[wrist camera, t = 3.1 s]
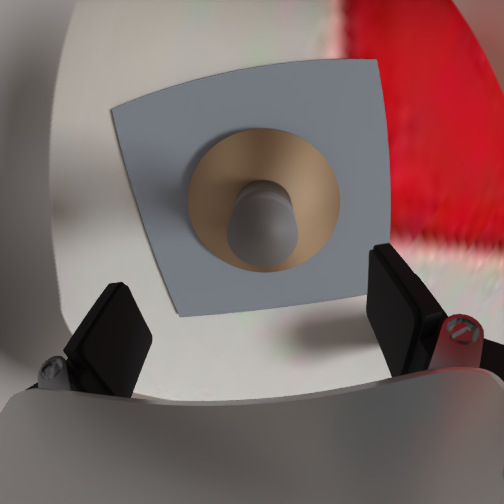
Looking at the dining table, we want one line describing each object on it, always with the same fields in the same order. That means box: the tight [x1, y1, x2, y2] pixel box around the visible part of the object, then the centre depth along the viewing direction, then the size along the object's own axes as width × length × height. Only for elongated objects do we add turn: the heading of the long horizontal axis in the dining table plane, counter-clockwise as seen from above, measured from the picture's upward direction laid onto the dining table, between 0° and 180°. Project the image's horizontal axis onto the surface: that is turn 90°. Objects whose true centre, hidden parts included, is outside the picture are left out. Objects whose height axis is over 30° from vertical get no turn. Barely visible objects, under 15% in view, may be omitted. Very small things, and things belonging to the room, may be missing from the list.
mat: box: [112, 59, 391, 317], centre depth 19 cm, size 18×18×1 cm
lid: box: [188, 128, 340, 273], centre depth 16 cm, size 10×10×5 cm
